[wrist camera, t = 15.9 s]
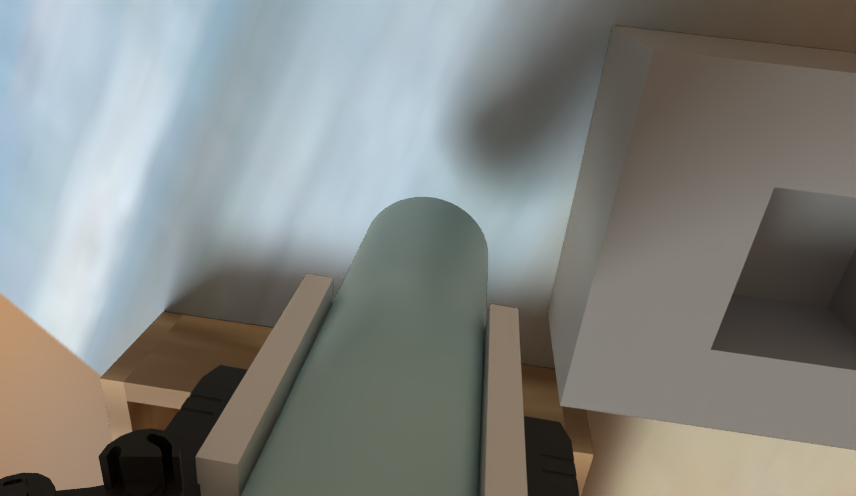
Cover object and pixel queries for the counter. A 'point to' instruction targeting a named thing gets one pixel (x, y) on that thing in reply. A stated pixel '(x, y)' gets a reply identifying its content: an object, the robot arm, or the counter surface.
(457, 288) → the cartridge
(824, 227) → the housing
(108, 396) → the wooden tray
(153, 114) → the counter surface
